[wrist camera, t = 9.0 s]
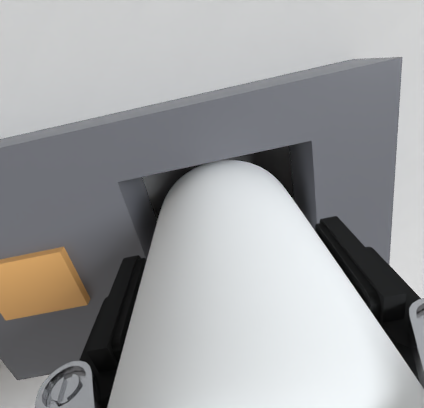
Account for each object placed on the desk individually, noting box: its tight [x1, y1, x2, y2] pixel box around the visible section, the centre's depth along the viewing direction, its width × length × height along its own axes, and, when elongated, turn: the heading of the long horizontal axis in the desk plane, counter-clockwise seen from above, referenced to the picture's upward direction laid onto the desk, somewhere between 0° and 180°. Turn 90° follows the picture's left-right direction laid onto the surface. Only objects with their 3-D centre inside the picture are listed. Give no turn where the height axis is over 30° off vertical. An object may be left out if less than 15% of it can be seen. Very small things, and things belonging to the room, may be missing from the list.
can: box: [107, 160, 424, 408], centre depth 9 cm, size 6×6×12 cm
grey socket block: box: [0, 57, 402, 380], centre depth 14 cm, size 12×20×4 cm, turn 102°
